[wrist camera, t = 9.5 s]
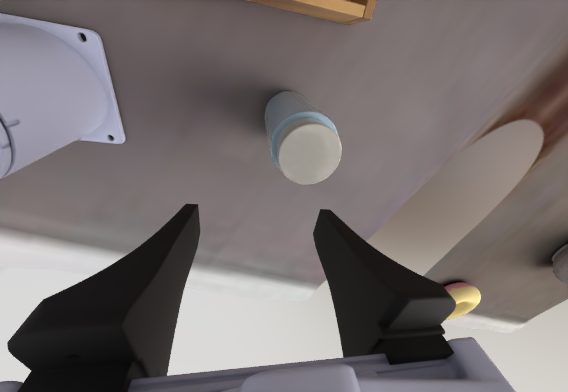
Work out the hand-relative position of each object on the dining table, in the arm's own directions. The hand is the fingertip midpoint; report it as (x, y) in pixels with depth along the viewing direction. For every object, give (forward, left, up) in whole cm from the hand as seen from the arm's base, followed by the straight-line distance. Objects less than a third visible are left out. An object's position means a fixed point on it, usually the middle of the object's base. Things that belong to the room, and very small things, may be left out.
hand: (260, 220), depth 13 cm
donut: (+41, -26, -11) cm, 49 cm away
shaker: (+3, +4, -10) cm, 11 cm away
